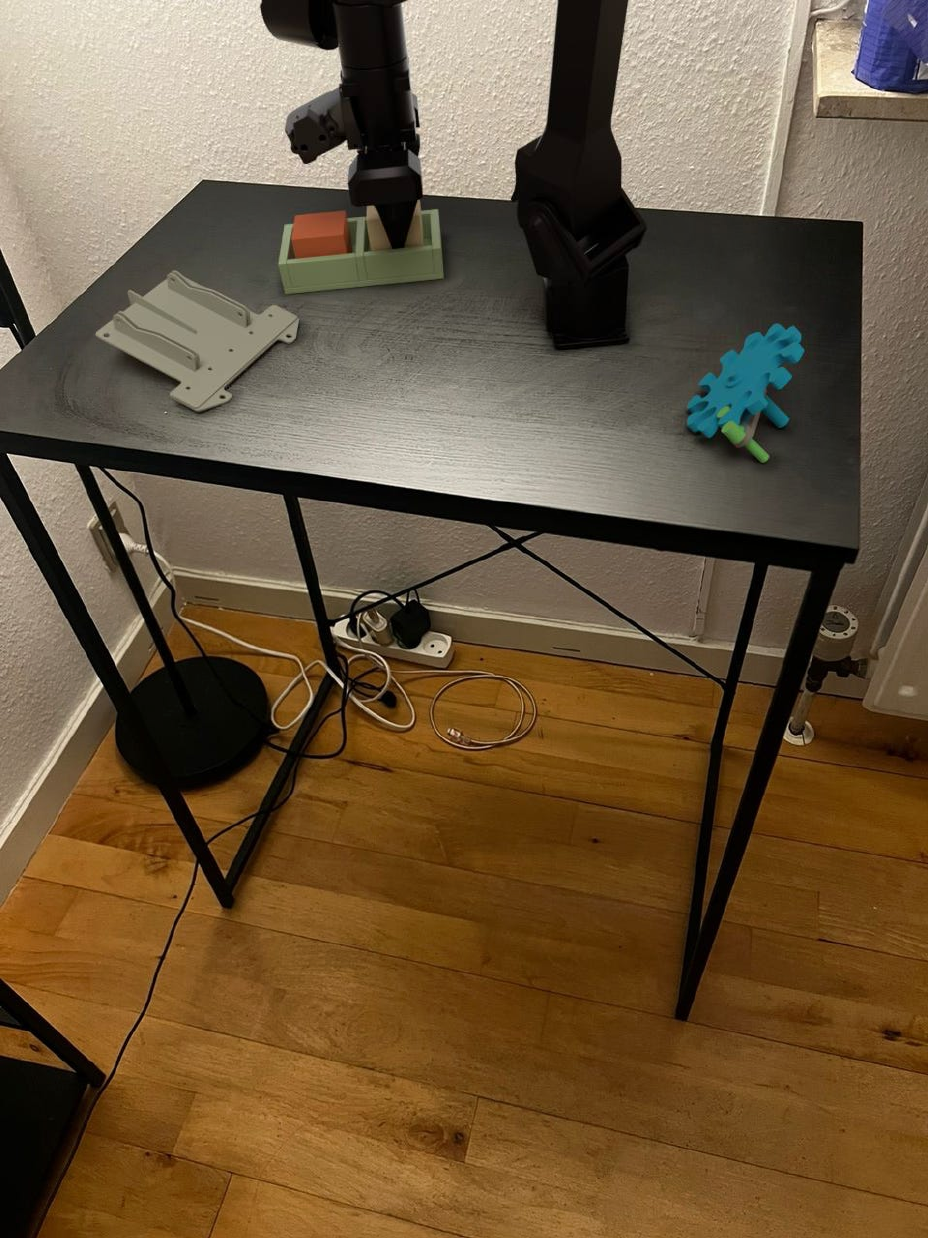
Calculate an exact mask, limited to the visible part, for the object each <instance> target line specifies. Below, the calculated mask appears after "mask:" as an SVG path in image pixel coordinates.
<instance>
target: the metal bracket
mask: <svg viewBox="0 0 928 1238" xmlns="http://www.w3.org/2000/svg"><path fill="white" fill-rule="evenodd" d="M127 296H128V297H127V298H128V300H129V303H130V306H128V307H127V308H126V309H124V310H119V311H118V312H117V313H115V314H114V315H113V316H112V319H111V320H110V321H109V322H108V323H106V324H105V325H103V326H102V327H101V328H100V329H98V330H97V331H96V332H95V337H96V338H97V339H99V340H101V341H103V342H105V343H107V344H109V345H111V346H112V347H114V348H116V349H118V350H120V351H121V352H124V353H125V354H127V355H129V356H131V357H133V358H134V359H137V360H138V361H141V362H142V363H144V364H146V365H148V366H149V367H152V368H154V369H155V370H157V371H159V372H161V373H163V374H165V375H167V376H169V377H171V378H172V379H174V380H176V381H178V382H179V383H180V384H178V385H177V386H176V387H175V388H174V389H173V390H172V391H170V393H169V396H170V398H171V399H173V400H174V401H176V402H178V403H180V404H182V405H184V406H186V407H187V408H189V409H191V410H193V411H195V412H197V413H200V412H203V411H206V410H210V409H212V408H215V407H218V406H221V405H224V404H227V403H229V402H230V401H231V400H232V399H233V395H232V393H230V392H229V391H227V390H225V388H227V387H228V386H229V385H230V384H231V383H233V381H235V379H236V378H237V377H239V376H240V375H241V374H242V373H243V372H244V371H245V370H247V369H248V368H249V366H251V365H252V364H253V363H254V362H255V361H256V360H257V359H259V358H260V357H261V355H263V354H264V353H266V351H267V350H269V348H271V346H273V345H274V344H275V343H276V342H278V341H281V342H284V343H285V344H289V345H290V344H292V343H294V342H295V341H296V339H297V333H298V328H299V324H300V319H299V318H298V316H297V315H296V314H294V313H292V312H290V311H288V310H286V309H284V308H282V307H280V306H279V305H276V304H272V305H270V306H268V307H267V308H266V309H265V310H264V311H263V312H262V313H260V314H258V313H256V312H253V311H252V310H249V308H248V307H247V306H246V305H244V304H242V303H240V302H238V301H236V300H234V299H233V298H230V297H229V296H226V295H225V294H223V293H220V292H219V291H217V290H214V289H211V288H208V287H205V286H203V285H201V284H199V283H197V282H195V281H193V280H191V279H189V278H187V277H185V276H183V274H182V273H180V272H179V271H178V270H172V271H170V273H167V276H166V279H164V280H163V281H161V282H160V283H159V284H158V285H156V286H155V287H154V288H152V289H151V290H150V291H148V292H147V293H145V295H143V296H142V295H140V294H139V293H136V292H135V291H133V290H131V289H129V290H128V291H127ZM288 336H289V337H288ZM221 397H224V398H221Z"/></svg>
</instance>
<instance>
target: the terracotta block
mask: <svg viewBox="0 0 928 1238" xmlns="http://www.w3.org/2000/svg"><path fill="white" fill-rule="evenodd" d="M347 215H348V214H347V211H346V209H345V210H336V211H334V210H333V211H325V212H314V213H306V214H296V215H294V220H293V224H294V225H293V232H292V238H291V241H292V246H293V250H294V254H295V259H300V258H310V257H320V256H330V255H340V254H349V253H352V244H351V238H350V233H349V227H348V221H347V218H348V217H347Z"/></svg>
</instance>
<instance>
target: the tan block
mask: <svg viewBox="0 0 928 1238" xmlns="http://www.w3.org/2000/svg"><path fill="white" fill-rule="evenodd" d="M421 207H422V205H421V199H420V200H418V201H417V205H416V208H415V211H414V215H413V218H412V222H411V225H410V229H409V232H408V236H407V240H406V243H405V247H404V248H410V247H420V246H424V234H423V223H422V215H421V211H422V208H421ZM366 216H367V219H366V221H367V228H368V234H369V240H370V246H371V251H380V250H390V249H392V247H391V245H390V242H389V240H388V237H387V235H386V232H385V230H384V227H383V225H382V222H381V220H380V217H379V215H378V213H377V210H376V208H375V206H366Z"/></svg>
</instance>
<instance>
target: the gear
mask: <svg viewBox="0 0 928 1238" xmlns="http://www.w3.org/2000/svg"><path fill="white" fill-rule="evenodd" d="M801 341H802V333H801V332H800V330H798V328H797V327H795V325H791V326H790V327H788V328H787V329H785V327H784V326H783V325H781V324H780V323H774V324H773V325H771V327H770V328H769V329H768V330H767V332H766V333H765V335H763V334H762V333H761V332H760V331H757V332H756V331H755V332H753V333H751V334H749V335H748V336H746V339H745V341H744V345H743V347H742V350H741V352H740V353H737V352H736V351H735V350H734V348H733V349H730V350H729V351H727V352H726V353H725V354H723V355H722V356H721V357H720V359H719V362H720V363H721V365H722V369H721V372H720V375H718V376H716V375H715V374H714V373H713V372H711V371H710V372H708V373H707V374H706V375H705V376H704V377H703V378H702V379H701V380H700V381H699V383H698V386H699V387H700V388H701V389H702V390H703V391H704V392H705V393H708V394H706V396H704V397H701V396H700V395H699V394H696V395H694V396H692V398H691V399H690V401H689V402H688V404H687V406H686V410H688V411H689V413H690V415H689V416H688V417H687V420H686V426H687V427H688V428H689V429H690V430H691V431H692V432H693V433H697V432H700V433H701V434H702V435H703V436H704V437H706V438H707V439H710V438H712V437H714V435H715V433H716V432H717V431H718V429H719V427H720V428H721V433H722V434H723V435H725V437H726V438H727V439H728V440H729V442H730V443H732V445H734V447H736V448H738V449H739V448H743V447H745V449H747V450H748V451H749V452H750V453H751V455H753V456H754V457H755V459H757V460H758V462H760V463H761V464H765V463H766V462H768V460H769V459H770V455H769V454H768V452H766V451H765V450H764V449H763V447H762V446H760V445H759V444H758V443H757V442H756V441H755V440H754V439H753V437H754V435H755V431H756V430H757V429H756V428H757V425H758V422H759V418H760V415H761V412H762V413H763V414H764V415H765V416H766V417H767V419H769V421H770V422H772V424H774V425H775V426H776V428H778V429H781V428H784V427H785V426H786V425H787V424H788V423H789V421H790V418H789V417H788V415H787V414H785V412H784V411H783V410H781V409H780V407H779V406H778V405H777V404H776V403H775V402H774V401H773V400H772V399H771V398H770V397H769V396H768V395H767V391H768V389H767V386H768V385H769V384H771V385H772V386H773V387H774V388H775V389H776V390H781V389H783V388H784V387H785V386H786V385H787V384H788V383H789V382H790V381H791V379H792V378H793V376H792V374H791V373H790V372H789V371H788V370H787V369H786V368H785V366H781V365H782V364H783V363H786V362H788V364H789V365H795V364H797V363H799V361H800V360H801V358H802V356H803V354H804V352H805V349H804V347H803V346H802V345H801V344H800V342H801Z"/></svg>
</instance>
